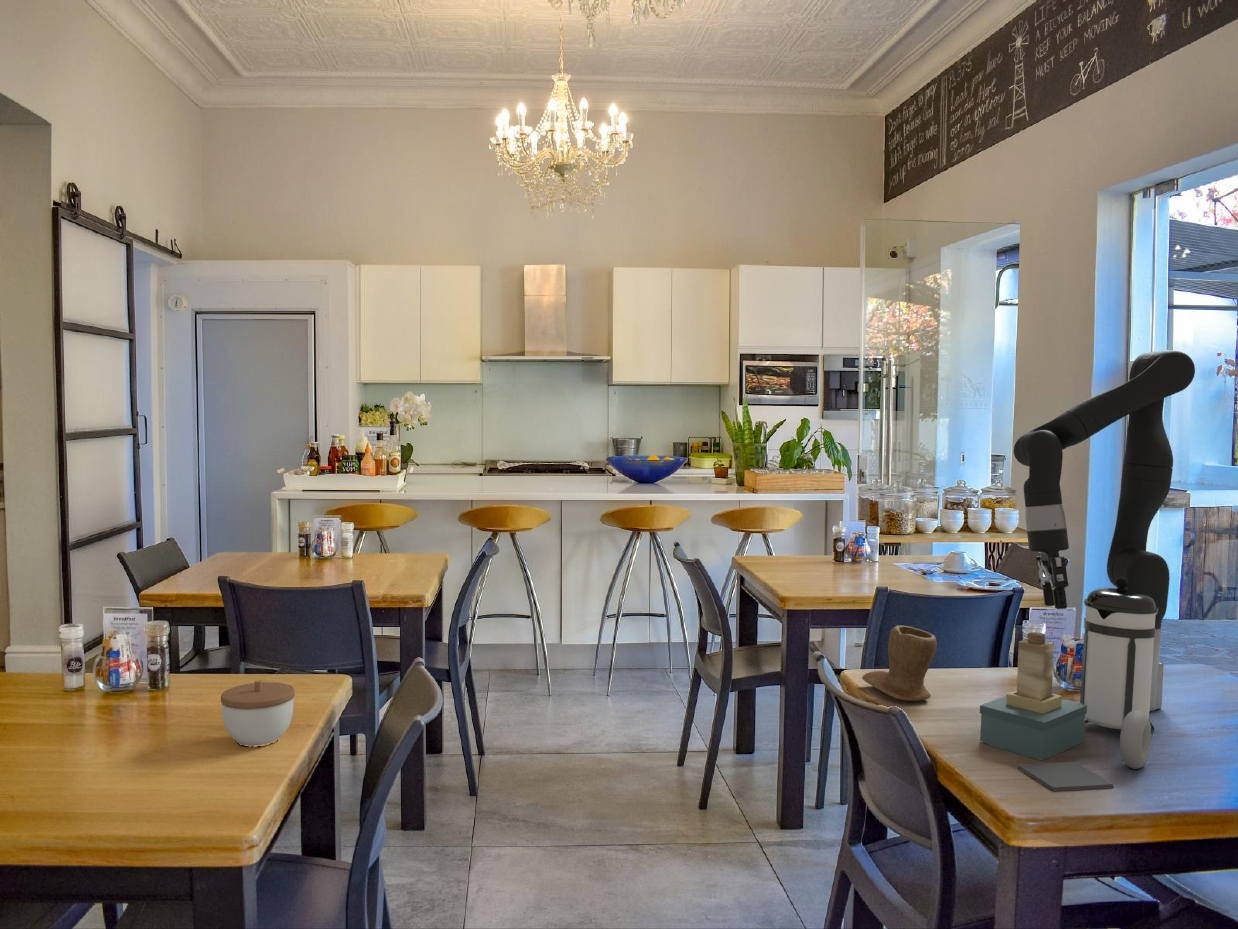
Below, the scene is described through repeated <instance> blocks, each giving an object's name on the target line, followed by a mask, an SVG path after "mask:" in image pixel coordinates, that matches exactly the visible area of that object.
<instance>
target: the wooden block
mask: <svg viewBox="0 0 1238 929" xmlns="http://www.w3.org/2000/svg"><path fill="white" fill-rule="evenodd" d="M1054 644H1055V642H1052V641H1051V642H1050V641H1047V640H1046V634H1044V633H1041V632H1028V633H1027V639H1023V640H1019V641H1018V647H1017V648H1018V649H1017V650H1018V651H1017V674H1016V675H1017V676H1016V690H1017V695H1019V696H1023V697H1027V698H1031V699H1035V700H1039V701H1043V700H1046V699H1048V698H1051V697H1052V694H1053V677H1054V654H1055V653H1054V652H1055V651H1054V649H1055V645H1054Z"/></svg>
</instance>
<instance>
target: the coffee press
mask: <svg viewBox="0 0 1238 929" xmlns="http://www.w3.org/2000/svg"><path fill="white" fill-rule="evenodd" d="M1115 583H1116V585H1117V587H1119V588H1117V587H1116V588H1113V587H1112V588H1111V587H1108V588H1107V587H1104V588H1097V589H1094V590H1092V591H1090V592H1089V593H1088V594H1087V598H1085V599H1084V600H1083V601H1084V602H1083V603H1084V606H1085V616H1084V617H1083V618H1084V619H1083V629H1084V634H1083V648H1082V664H1081V665H1082V666H1081V680H1080V681H1081V682H1080V700H1079V703H1080V704H1084V705H1087V713H1086V714H1085V725H1086V724H1088V723H1090V724H1094V725H1097V726H1100V727H1104V728H1110V729H1115V730H1118V731H1120V733H1121V728H1122V724H1123V721H1124V718H1125V717H1126V715H1127V714H1128V713H1129V712H1132V711H1141V712H1143V713H1144V714H1145V715H1146V716H1147V717H1148V719H1149V721H1150V726H1151V734H1152V733H1154V732H1155V726H1154V725H1153V724H1152V722H1151V720H1150V711H1149V709H1150V693H1151V678H1152V662H1153V646H1154V637H1155V635H1156V626H1155V616H1156V614H1157V612H1158V607H1157V606H1156V605H1155V602H1154V600H1153V599H1152V598H1151V597H1150V596H1148V595H1147V594H1144V593H1141V592H1138V591H1133V590H1127V589H1125V588H1126V587H1127V586H1128V584H1129V583H1128V580H1127V579H1126V578H1124V577H1119V578H1118V579H1117V580H1116V582H1115Z"/></svg>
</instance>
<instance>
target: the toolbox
mask: <svg viewBox="0 0 1238 929" xmlns="http://www.w3.org/2000/svg"><path fill="white" fill-rule="evenodd" d="M1086 713H1087V705H1084V704H1080V702H1075V701H1071V700H1068V699H1063V696H1062V695H1059V694H1056V693H1052V697H1051V698H1048V699H1046V700H1043V701H1039V700H1035V699H1031V698H1027V697H1023V696H1019V695H1017V689H1016V690H1013V691H1010V692H1007V693H1006V695H1005V696H1003V697H1000V698H996V699H994V700H992V701H988V702H984V703H983V704H980V705H979V714H981V716H980V733H979V734H980V737H979V742H980V741H982V742H984V743H983V744H985V743H988V744H987V745H989V744H990V745H989V746H992V747H995V746H996V748H998V749H999V748H1000V749H1002V750H1005V751H1006V750H1007V751H1008V752H1009V751H1010V752H1013V753H1016V754H1020V755H1022V756H1026V757H1029V758H1031V759H1032V758H1033V759H1036V760H1040V761H1046V760H1048V759H1049V758H1051V757H1053V756H1056V755H1058V754H1060V753H1062V752H1065V751H1066V750H1069V749H1071V748H1073V747H1076V746H1078V745H1079V744H1082V743H1084V742H1085V730H1086V728H1085V726H1086V724H1085V720H1086V719H1085V714H1086ZM982 742H981V743H982Z"/></svg>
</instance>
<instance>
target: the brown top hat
mask: <svg viewBox="0 0 1238 929" xmlns="http://www.w3.org/2000/svg"><path fill="white" fill-rule="evenodd" d="M888 637H889V638H888V646H887V653H888V654H887V656H888V664H889V665H888V666H889V668H888V669H889V670H888V671H886V670H885V671H884V670H874V671H869V672H867V673H864V674H863V675H862V677H861V679H862V681H865V683H867V684H869V685H870V686H871V687H874V689H877V690H879V691H880V692H882V693H883V694H886V695H887V696H890V697H892V698H894V699H897V700H901V701H907V702H918V701H919V702H920V701H925V700H927V699H930V698H931V697H932V696H931V693H930V692H929V690H928V689H927V688H926V686H925V684H924V683H925V682H924V680H925V677H926V675H927V672H928V670H929V668H930V665H931V664H932V662H933V659H934V657H935V654H936V652H937V648H938V646H937V644H938V642H937V638H936V636H935V635H934V634H932V633H930V632H928V631H925V630H922V629H919V628H915V627H913V626H907V625H900V624H899V625H896V626H894V627H893V628H892V629H891V630H890V633H889V636H888Z"/></svg>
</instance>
